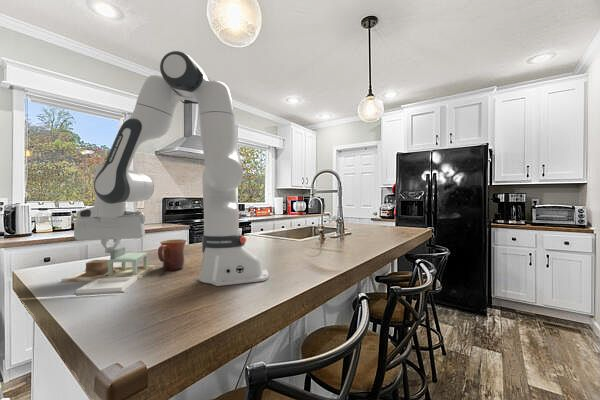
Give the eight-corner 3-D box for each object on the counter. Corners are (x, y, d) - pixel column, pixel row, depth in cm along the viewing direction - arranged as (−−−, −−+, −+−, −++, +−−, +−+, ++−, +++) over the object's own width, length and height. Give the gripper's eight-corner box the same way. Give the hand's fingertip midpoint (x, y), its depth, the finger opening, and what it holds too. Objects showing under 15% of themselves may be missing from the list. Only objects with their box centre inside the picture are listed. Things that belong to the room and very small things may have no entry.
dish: (137, 281, 87) (137, 276, 87) (122, 293, 76) (122, 287, 76) (97, 283, 85) (97, 278, 85) (76, 295, 74) (76, 289, 74)
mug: (170, 265, 108) (170, 239, 108) (191, 266, 106) (191, 239, 106) (148, 273, 96) (148, 243, 96) (170, 274, 95) (170, 244, 95)
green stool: (147, 268, 100) (147, 246, 100) (135, 276, 90) (135, 251, 90) (122, 269, 99) (123, 246, 99) (108, 278, 88) (108, 252, 88)
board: (154, 269, 102) (154, 265, 102) (140, 280, 88) (140, 275, 88) (86, 272, 98) (86, 268, 98) (61, 283, 84) (61, 279, 84)
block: (108, 272, 95) (108, 259, 95) (101, 276, 90) (101, 262, 90) (93, 273, 94) (93, 260, 94) (85, 276, 90) (85, 263, 90)
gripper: (147, 210, 98) (148, 249, 98) (82, 211, 94) (82, 252, 94) (141, 211, 92) (141, 253, 92) (70, 212, 88) (71, 255, 88)
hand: (111, 252), depth 93 cm, fingers closed
